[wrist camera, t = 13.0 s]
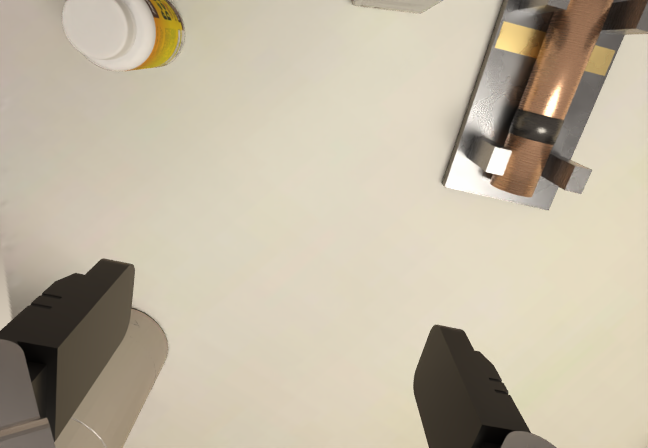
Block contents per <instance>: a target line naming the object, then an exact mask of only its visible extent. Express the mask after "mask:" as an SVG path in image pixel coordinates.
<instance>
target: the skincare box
mask: <svg viewBox="0 0 648 448" xmlns="http://www.w3.org/2000/svg"><path fill="white" fill-rule="evenodd" d="M441 1H443V0H352V4H353V5H355V6H362V7H370V8H377V9H386V10H395V11H403V12H411V13H423V12H424V11H426V10H428V9H430V8H431V7H433V6H435V5H436V4H438V3H440V2H441Z"/></svg>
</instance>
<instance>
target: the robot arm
mask: <svg viewBox="0 0 648 448" xmlns="http://www.w3.org/2000/svg"><path fill="white" fill-rule="evenodd" d="M134 275H135V268H134V265H133V264H129V263H124V262H119V261H113V260H108V259H101V260H100V261H99V262H98V263H97V264H96V265H95V266H94V267H93V268H92V269H91V270H89V271H88V272H87V273H86V274H85V275H83V274H77V273H74V274H72V275H70V276H67V277H65V278H63V279H60V280H58V281H55V282H54V283H53V284H52V285H51V286H50V287H49V288H48V289H47V290H45V291H44V292H43V293H42V296H39V297H38V298H36V299H35V300H34V301H33V302H32V303H31V306H27V307H26V308H25V309H24V310H23V311H22V312H21V313H20V314H18V315H17V316H16V317H15V318H14V319H13V320H12V321H11V322H10V323H8V324H7V326H5V327H4V328H3V329H2V330H1V331H0V448H123V446H124V444H125V442H126V440H127V438H128V435H129V433H130V431H131V429H132V427H133V425H134V423H135V421H136V419H137V417H138V415H139V413H140V411H141V409H142V407H143V405H144V403H145V401H146V399H147V397H148V395H149V393H150V391H151V389H152V387H153V385H154V383H155V381H156V379H157V377H158V375H159V373H160V371H161V369H162V367H163V365H164V363H165V360H166V358H167V354H168V344H167V339H166V337H165V334H164V332H163V331H162V329H161V328H160V326H159V325H158V324H157V323H156V322H155V321H154V320H153V319H151V318H150V317H149V316H147V315H146V314H144V313H142V312H140V311H138V310H135V309H131V307H132V296H133V286H134ZM501 381H502V380H501V378H500V376H499V374H498V372H497V371H496V369H495V367H494V365H493V364H492V363H491V362H490V361H489V360H488V359H487V358H485V357H484V356H483V355H482V354H481V353H480V352H479V351H474V349H473V347H472V345H471V343H470V341H469V339H468V337H467V335H466V334H465V332H464V331H463V330H461V329H456V328H451V327H446V326H441V325H434V326H433V327H432V329H431V331H430V333H429V336H428V338H427V341H426V344H425V347H424V349H423V352H422V355H421V357H420V360H419V363H418V365H417V368H416V371H415V375H414V384H413V388H414V395H415V399H416V402H417V406H418V410H419V413H420V417H421V420H422V424H423V428H424V431H425V435H426V438H427V442H428V446H429V448H556V447H555V446H554V445H552V444H551V443H550V442H548V441H547V440H545V439H543V438H541V437H539V436H537V435H535V434H532V433H531V432H530V430H529V428H528V427H527V425H526V423H525V421H524V419H523V418H522V416H521V414H520V412H519V410H518V409H517V407H516V405H515V403H514V401H513V399H512V398H511V396H510V395H508V390H507V389H506V387H505V385H504V383H502V382H501Z"/></svg>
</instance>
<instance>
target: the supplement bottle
mask: <svg viewBox="0 0 648 448" xmlns="http://www.w3.org/2000/svg"><path fill="white" fill-rule="evenodd" d="M62 25H63V29H64V32H65V35H66V37H67V38H68V40H69V42H70V43H71V44H72V45H73V47H74V48H75V49H77V50H78V51H79V52H80V53H82V54H83V55H84V56H85V57H86V58H87V59H88V60H89V61H91V62H92V63H94V64H95V65H97V66H99V67H101V68H104V69H107V70H111V71H129V70H137V69H145V68H155V67H161V66H165V65H167V64H169V63H171V62H172V61H174V60H175V59H176V58H177V56H178V55H179V54H180V52H181V50H182V48H183V45H184V40H185V30H184V24H183V21H182V19H181V17H180V15H179V13H178V11H177V10H176V9H175V7H174V6H173V5H172V4H171V3H170V2H169V1H167V0H67V1H66V2H65V4H64V7H63V10H62Z"/></svg>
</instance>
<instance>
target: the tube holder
mask: <svg viewBox="0 0 648 448" xmlns="http://www.w3.org/2000/svg"><path fill="white" fill-rule="evenodd" d="M569 2H570V0H504V1H503V4H502V7H501V10H500V13H499V16H498V19H497V22H496V25H495V28H494V31H493V34H492V37H491V40H490V43H489V45H488V48H487V51H486V54H485V57H484V60H483V63H482V66H481V69H480V72H479V75H478V78H477V81H476V84H475V87H474V90H473V93H472V96H471V99H470V102H469V105H468V108H467V111H466V114H465V117H464V120H463V123H462V126H461V129H460V132H459V135H458V137H457V140H456V143H455V146H454V149H453V152H452V155H451V158H450V161H449V164H448V167H447V170H446V173H445V176H444V179H443V182H442V184H443V186H444V187H447V188H452V189H456V190H460V191H465V192H469V193H474V194H478V195H482V196H487V197H491V198H496V199H500V200H505V201H509V202H513V203H518V204H522V205H527V206H531V207H536V208H540V209H544V210H549V208H550V206H551V204H552V201H553V199H554V197H555V194H556V192H557V190H558V187H560V188H562V189H564V190H566V191H570V192H575V193H579V194H582V191H583V189H584V187H585V185H586V183H587V180H588V178H589V176H590V174H591V172H592V170H591V169H589V168H587V167H585V166H583V165H580V164H578V163H576V162H574V161H572V160H571V157H572V155H573V153H574V150H575V148H576V146H577V144H578V141H579V139H580V137H581V134H582V132H583V130H584V127H585V125H586V123H587V120H588V118H589V116H590V114H591V111H592V109H593V107H594V104H595V102H596V100H597V97H598V95H599V93H600V90H601V88H602V86H603V84H604V81H605V79H606V77H607V74H608V72H609V70H610V67H611V65H612V63H613V60H614V58H615V56H616V54H617V51H618V49H619V47H620V44H621V42H622V40H623V37H624V35H629V34H648V0H614V1H613V4H612V6H611V9H610V11H609V13H608V16H607V18H606V21H605V23H604V25H603V28H602V30H601V33H600V35H599V37H598V40H597V42H596V45H595V47H594V49H593V52H592V54H591V57H590V59H589V61H588V64H587V66H586V69H585V71H584V73H583V76H582V78H581V81H580V83H579V85H578V88H577V90H576V93H575V95H574V97H573V100H572V102H571V105H570V107H569V109H568V112H567V114H566V117H565V119H564V120H565V121H564V123H563V125H562V128H561V130H560V133H559V135H558V137H557V140H556V142H555V145H553V148H552V150H551V153H550V155H549V157H548V160H547V162H546V165H545V167H544V169H543V172H542V174H541V177H540V179H539V181H538V184H537V186H536V189H535V191H534V193H533V196H532V197H523V196H518V195H514V194H511V193H508V192H505V191H502V190H500V189H498V188H495V187H494V186H492V185H491V184H490V181H491V178H492V175H493V174H497V175H501V176H503V174H504V171H505V169H506V166H507V163H508V161H509V158H510V156H511V153H512V151H511V150H510V149H508V148H506V147H504V144H505V141H506V138H507V136H508V133H509V132H508V131H509V129H510V126H511V123H512V121H513V118H514V115H515V113H516V110H517V108H518V106H519V104H520V101H521V98H522V96H523V93H524V91H525V88H526V85H527V83H528V80H529V77H530V75H531V72H532V69H533V67H534V64H535V61H536V59H537V56H538V53H539V51H540V48H541V45H542V43H543V40H544V37H545V35H546V32H547V30H548V27H549V24H550V22H551V19H552V16H553V14H554V12H556V11H562V10H567V7H568V5H569Z"/></svg>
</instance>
